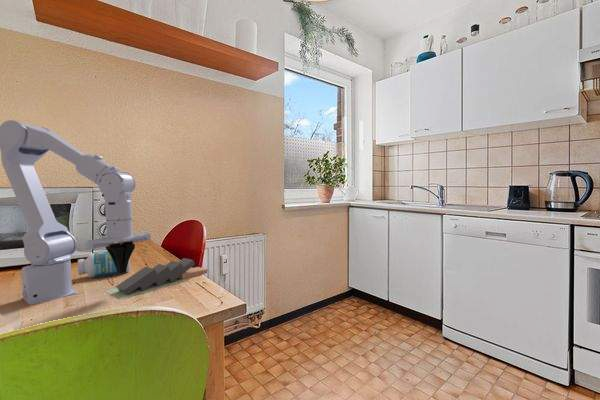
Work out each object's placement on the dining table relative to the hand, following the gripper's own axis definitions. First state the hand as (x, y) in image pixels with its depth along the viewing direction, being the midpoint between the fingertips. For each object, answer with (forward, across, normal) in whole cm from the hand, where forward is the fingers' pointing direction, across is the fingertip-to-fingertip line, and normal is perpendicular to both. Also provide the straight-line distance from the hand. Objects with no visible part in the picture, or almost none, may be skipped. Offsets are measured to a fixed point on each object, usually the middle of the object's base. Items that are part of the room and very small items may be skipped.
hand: (121, 272), depth 76 cm
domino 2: (+5, +4, 0) cm, 6 cm away
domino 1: (+5, 0, 0) cm, 5 cm away
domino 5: (+5, +15, 0) cm, 16 cm away
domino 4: (+5, +12, 0) cm, 12 cm away
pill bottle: (+2, +11, +21) cm, 24 cm away
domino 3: (+5, +8, 0) cm, 9 cm away
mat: (+6, +7, +1) cm, 9 cm away
